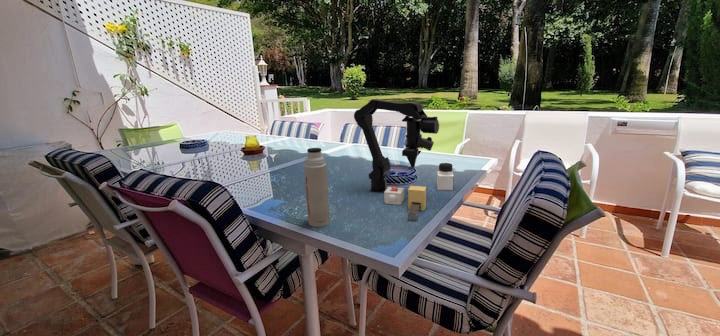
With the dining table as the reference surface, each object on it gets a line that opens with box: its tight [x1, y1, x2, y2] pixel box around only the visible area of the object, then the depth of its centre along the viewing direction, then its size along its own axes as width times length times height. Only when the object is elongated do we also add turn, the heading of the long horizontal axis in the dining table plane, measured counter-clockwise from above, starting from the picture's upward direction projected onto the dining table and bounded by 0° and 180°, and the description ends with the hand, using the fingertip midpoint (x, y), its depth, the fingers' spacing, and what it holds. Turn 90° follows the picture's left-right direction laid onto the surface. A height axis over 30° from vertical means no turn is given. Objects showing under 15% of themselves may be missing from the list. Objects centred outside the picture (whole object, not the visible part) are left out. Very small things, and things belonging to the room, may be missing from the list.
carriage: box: [407, 185, 427, 212], centre depth 126 cm, size 6×5×8 cm
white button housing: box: [383, 186, 405, 205], centre depth 134 cm, size 7×7×5 cm
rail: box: [407, 202, 421, 222], centre depth 123 cm, size 3×16×3 cm, turn 161°
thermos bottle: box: [303, 147, 331, 228], centre depth 113 cm, size 8×8×28 cm
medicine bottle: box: [436, 162, 455, 191], centre depth 148 cm, size 7×7×12 cm
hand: (412, 167), depth 137 cm, fingers closed
